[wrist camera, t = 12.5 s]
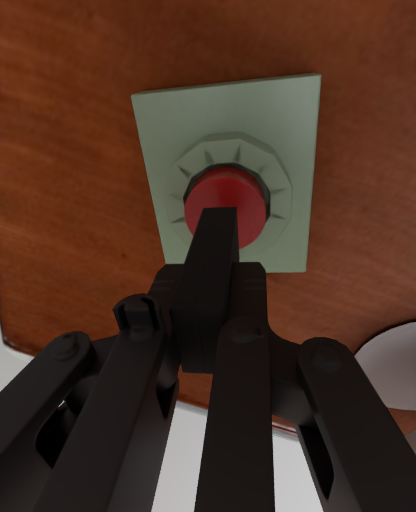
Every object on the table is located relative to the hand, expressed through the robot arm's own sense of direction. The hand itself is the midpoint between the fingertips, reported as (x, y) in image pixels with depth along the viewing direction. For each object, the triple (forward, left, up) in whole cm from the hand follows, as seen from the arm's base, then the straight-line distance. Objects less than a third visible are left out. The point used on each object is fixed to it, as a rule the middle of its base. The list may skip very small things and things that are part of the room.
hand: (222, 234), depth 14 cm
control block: (0, 0, -8) cm, 8 cm away
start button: (0, 0, -4) cm, 4 cm away
